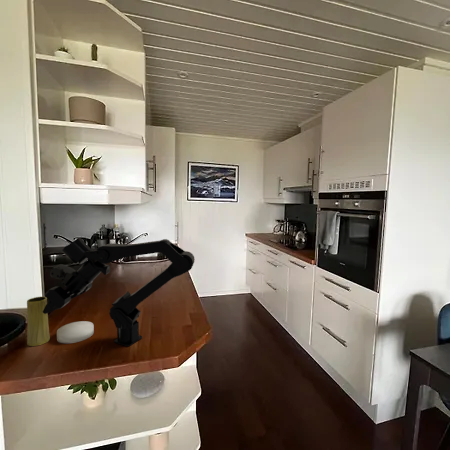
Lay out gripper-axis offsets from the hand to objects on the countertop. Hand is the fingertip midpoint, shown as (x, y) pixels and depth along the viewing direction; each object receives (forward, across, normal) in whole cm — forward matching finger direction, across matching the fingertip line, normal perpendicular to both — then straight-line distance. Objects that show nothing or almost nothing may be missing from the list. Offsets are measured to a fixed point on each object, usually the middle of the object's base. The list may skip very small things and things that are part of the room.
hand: (52, 307), depth 86 cm
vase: (+12, 0, +5) cm, 13 cm away
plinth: (+5, -4, +12) cm, 13 cm away
